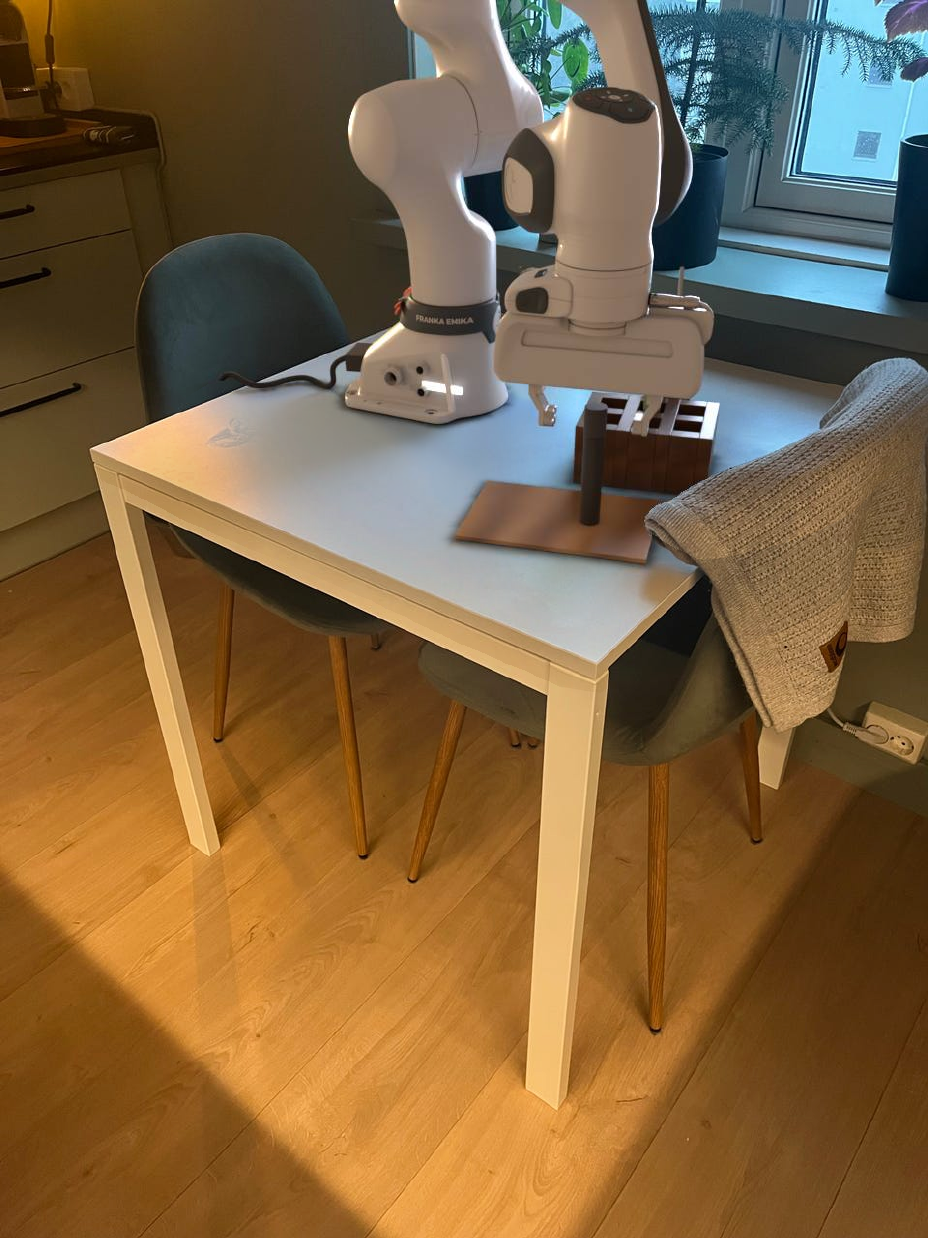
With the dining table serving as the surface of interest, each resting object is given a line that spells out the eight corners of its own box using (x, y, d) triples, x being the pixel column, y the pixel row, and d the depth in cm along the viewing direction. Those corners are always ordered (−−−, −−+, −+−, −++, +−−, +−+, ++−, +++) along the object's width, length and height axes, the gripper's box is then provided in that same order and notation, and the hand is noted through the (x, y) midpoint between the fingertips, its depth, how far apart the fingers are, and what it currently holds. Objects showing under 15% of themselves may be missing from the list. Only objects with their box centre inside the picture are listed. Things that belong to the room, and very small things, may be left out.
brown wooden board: (454, 539, 101) (454, 535, 101) (487, 484, 111) (487, 480, 111) (645, 564, 96) (645, 559, 96) (661, 504, 106) (661, 500, 106)
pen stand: (572, 482, 111) (575, 426, 107) (589, 445, 119) (592, 391, 115) (705, 497, 107) (712, 439, 103) (712, 457, 115) (720, 402, 111)
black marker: (576, 525, 102) (582, 409, 94) (580, 514, 104) (586, 400, 96) (598, 527, 101) (605, 411, 94) (601, 517, 103) (609, 402, 96)
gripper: (719, 287, 89) (700, 426, 97) (505, 273, 93) (504, 407, 101) (713, 308, 84) (694, 453, 92) (488, 292, 89) (488, 431, 97)
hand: (593, 429), depth 97 cm, fingers open, 8 cm apart
